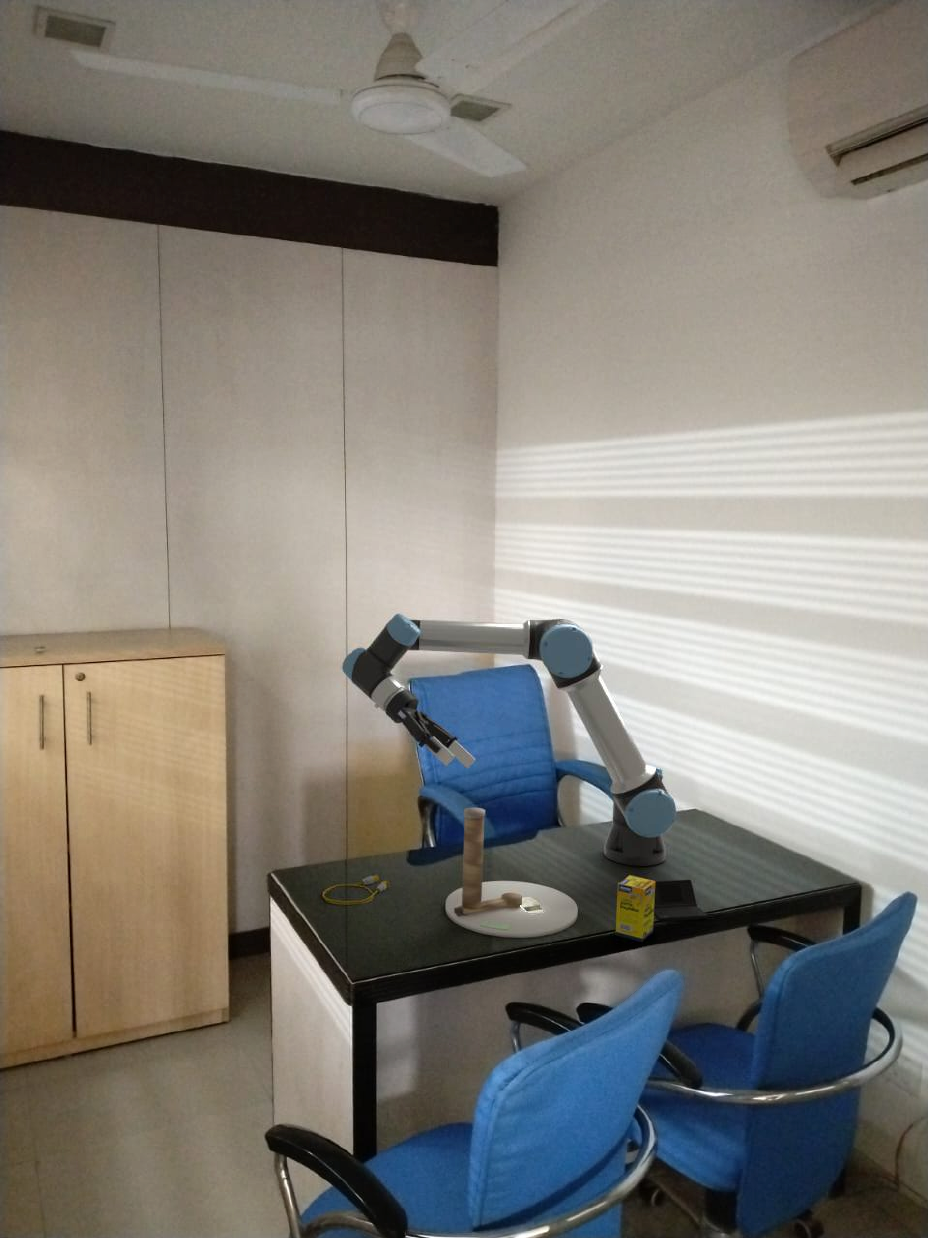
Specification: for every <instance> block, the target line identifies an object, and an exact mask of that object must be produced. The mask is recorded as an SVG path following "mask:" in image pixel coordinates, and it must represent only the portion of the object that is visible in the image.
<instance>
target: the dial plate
mask: <svg viewBox="0 0 928 1238" xmlns="http://www.w3.org/2000/svg"><path fill="white" fill-rule="evenodd" d="M462 888H463V886H462V887H460V888H458V889H456V890H454V891H453V892H451V893H449V895H448V896H447V898H446V900H445V913H446V915H447V917H448V918H449V919H450V920H451V921H452V922H453V923H455V924H457V925H458V926H459V927H462V928H464V929H467V930H468V931H472V932H475V933H479V934H483V935H488V936H494V937H500V938H516V939H517V938H519V939H521V938H522V939H524V938H525V939H526V938H527V939H528V938H537V937H545V935H546V936H549V935H554V934H557V933H560V932H562V931H565V930H567V929H568V928H570V927H571V926H572V925H574V923H575V922H576V921H577V919H578V911H579V910H578V909H579V907H578V905H577V903H576V902H575V900H574V899H573V898H571V897H570V896H569V895H567V894H566V893H565V892H562V891H561V890H560V891H559V890H557V889H555V888H552V887H550V886H545V885H542V884H537V883H531V882H526V881H515V880H493V881H482V900H481V902H482V901H487V900H492V899H497V898H501V896H502V894H505V893H517V894H520V895H521V896H522V898H523V897H531V898H533V899H534V900H536V901H537V902H538V903H539V905H540V908H542V910H543V912H544V911H545V912H544V913H541V912H540V913H539V914H541V915H538V913H528V912H525V910H523V909H522V908H521V907H520V906H518V907H508V906H501V907H496V908H491V909H487V910H482V911H477V912H473V913H468V914H459V915H457V914H455V913H454V908H457V907H459V906H462ZM531 914H533V915H531ZM534 914H535V915H534Z"/></svg>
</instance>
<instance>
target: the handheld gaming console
mask: <svg viewBox="0 0 928 1238" xmlns="http://www.w3.org/2000/svg"><path fill="white" fill-rule="evenodd" d="M654 918H656V919H657V920H658V922H661V923H663V922H677V921H678V922H679V921H696V920H702V919H703V920H708V914H707V913H705V912H704V911H703V910H702V909H701V908H700V907H699V906H698V904H697V900H696V896H695V892H694V886H693V883H692V880H691V879H678V880H677V879H675V880H659V881H655V899H654Z"/></svg>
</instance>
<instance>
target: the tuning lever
mask: <svg viewBox="0 0 928 1238" xmlns="http://www.w3.org/2000/svg"><path fill="white" fill-rule="evenodd" d="M463 817H464V821H463V823H464V824H463V825H464V828H463V858H462V861H463V862H462V887H463V888H462V887H461V888H462V906H459V907H457V908H454V913H455V914H457V915H459V914H468V913H473V912H477V911H482V910H487V909H491V908H496V907H501V906H508V907H518V906H520V905H522V896H521V895H520V894H517V893H505V894H502V896H501V898H497V899H492V900H487V901H482V902H481V900H482V882H483V865H484V864H483V863H484V862H483V860H484V834H485V833H484V831H485V817H486V810H485V809H484V808H481V807H466V808H464V809H463Z"/></svg>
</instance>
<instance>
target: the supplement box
mask: <svg viewBox="0 0 928 1238" xmlns="http://www.w3.org/2000/svg"><path fill="white" fill-rule="evenodd" d="M655 882H656V881H655V880H651V879H646V878H643V877H638V876H635V875H628V876H626V878H624V879H623V880H621V881H619V882H618V883H617V897H616V916H615V917H616V919H615V934H614V935H615V936H617V937H621V938H626V939H629V940H633V941H637V942H640V943H642V942H644V941H645V940H646V939H647V938H648V937H649V936H650V935H651V934H653V933H654V932H653V931H654V919H655V916H654V899H655Z"/></svg>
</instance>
